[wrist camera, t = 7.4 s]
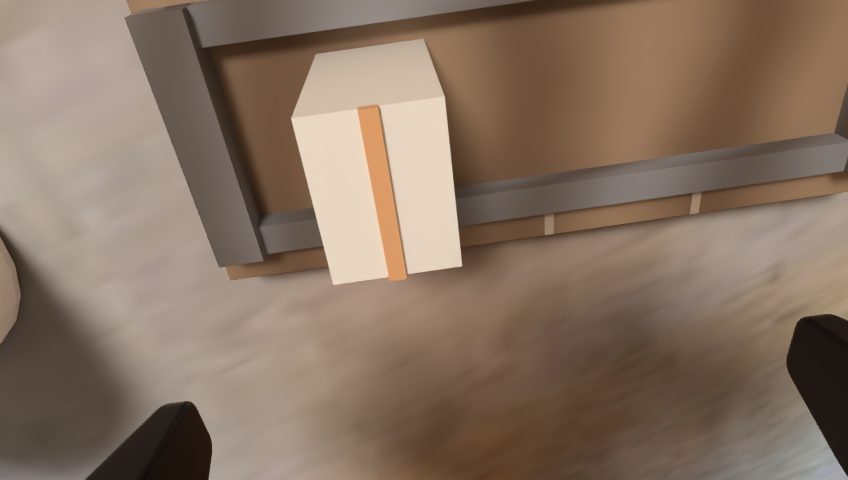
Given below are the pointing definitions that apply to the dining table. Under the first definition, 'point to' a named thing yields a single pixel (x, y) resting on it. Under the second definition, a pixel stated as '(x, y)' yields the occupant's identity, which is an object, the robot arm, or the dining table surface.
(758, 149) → the brown wooden tray
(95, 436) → the dining table surface
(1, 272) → the mug
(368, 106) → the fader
